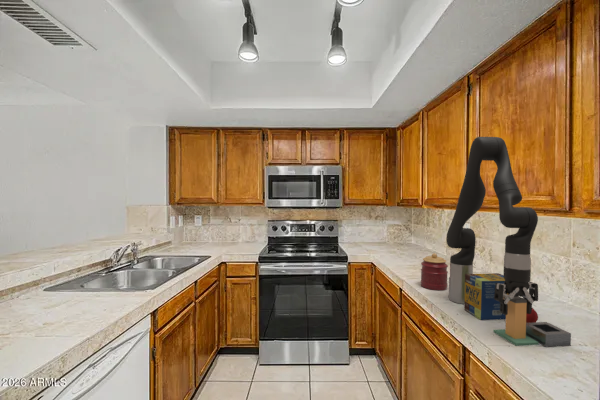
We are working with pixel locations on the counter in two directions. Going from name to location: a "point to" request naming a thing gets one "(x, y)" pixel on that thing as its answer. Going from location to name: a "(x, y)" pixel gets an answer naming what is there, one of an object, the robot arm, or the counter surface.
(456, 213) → the robot arm
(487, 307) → the protein box
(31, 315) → the counter surface
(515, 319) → the plug
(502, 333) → the mat
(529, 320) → the red onion
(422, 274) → the canister
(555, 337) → the gray square frame
